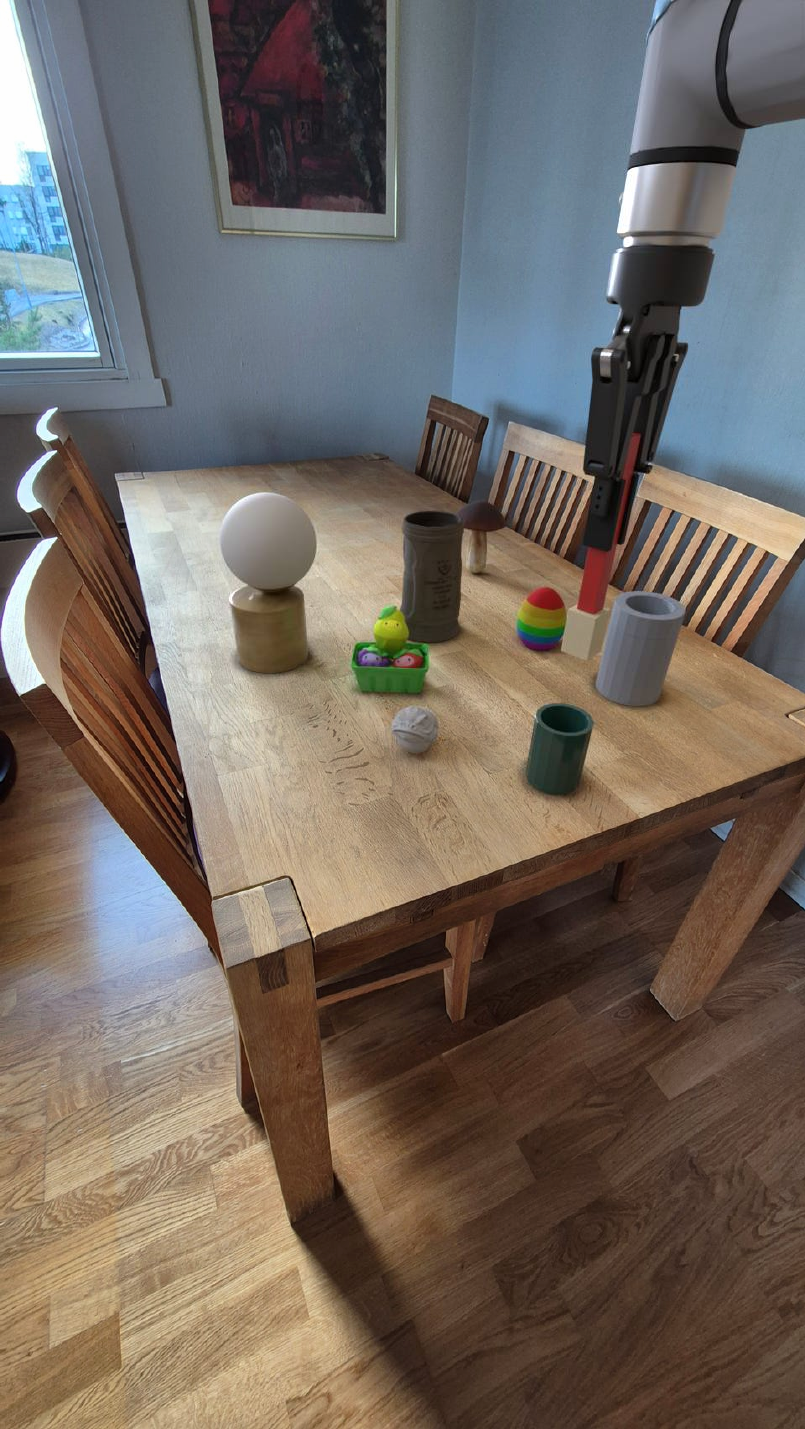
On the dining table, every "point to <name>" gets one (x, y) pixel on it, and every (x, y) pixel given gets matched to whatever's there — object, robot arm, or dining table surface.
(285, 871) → the dining table surface
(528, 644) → the decorative egg
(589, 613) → the paint brush
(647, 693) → the vase
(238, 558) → the lamp
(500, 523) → the decorative mushroom
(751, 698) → the dining table surface
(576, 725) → the pen pot
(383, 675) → the fruit basket
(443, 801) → the dining table surface
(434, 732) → the grey wrinkled ball
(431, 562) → the dark grey hollow cylinder
